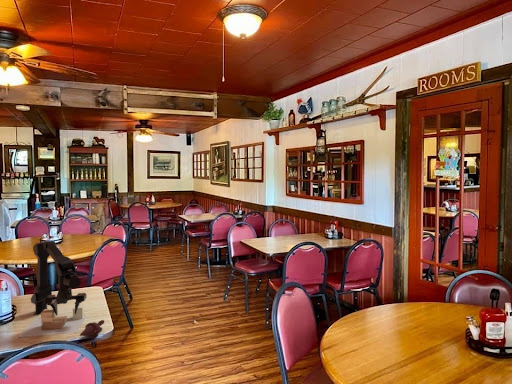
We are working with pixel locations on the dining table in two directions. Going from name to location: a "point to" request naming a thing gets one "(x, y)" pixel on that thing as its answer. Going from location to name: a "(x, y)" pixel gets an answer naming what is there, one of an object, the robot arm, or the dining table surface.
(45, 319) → the maple block
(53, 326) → the plinth
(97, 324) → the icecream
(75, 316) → the beige rectangular block
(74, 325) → the mat
